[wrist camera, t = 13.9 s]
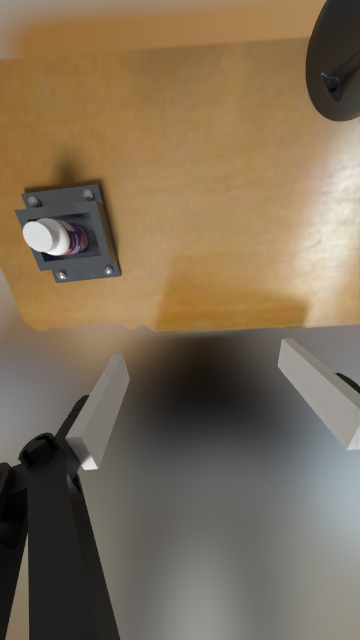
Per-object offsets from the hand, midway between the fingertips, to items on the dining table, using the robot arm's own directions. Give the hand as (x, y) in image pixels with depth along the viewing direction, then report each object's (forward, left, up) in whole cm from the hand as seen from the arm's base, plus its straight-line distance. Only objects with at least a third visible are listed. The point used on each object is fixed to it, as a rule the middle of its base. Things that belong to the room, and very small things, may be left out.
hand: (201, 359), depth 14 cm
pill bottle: (-12, -21, -26) cm, 35 cm away
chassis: (-12, -21, -27) cm, 36 cm away
